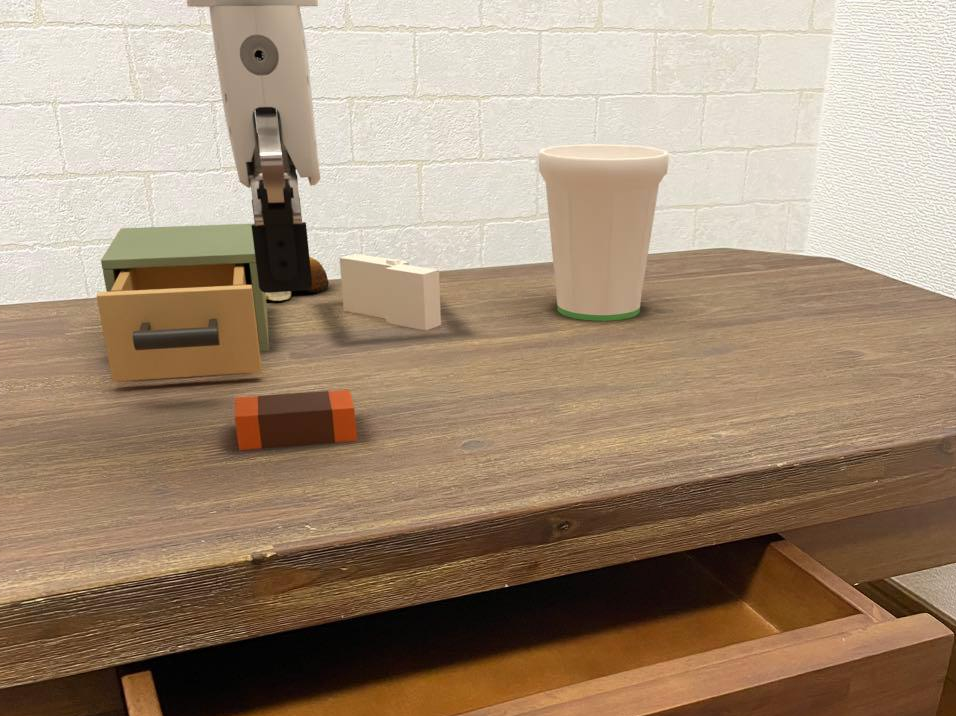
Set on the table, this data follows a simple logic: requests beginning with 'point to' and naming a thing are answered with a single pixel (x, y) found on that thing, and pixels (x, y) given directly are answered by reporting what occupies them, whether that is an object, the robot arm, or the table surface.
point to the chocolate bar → (295, 419)
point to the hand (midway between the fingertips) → (284, 273)
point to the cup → (601, 225)
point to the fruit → (318, 282)
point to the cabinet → (188, 256)
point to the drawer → (180, 322)
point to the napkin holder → (391, 290)
